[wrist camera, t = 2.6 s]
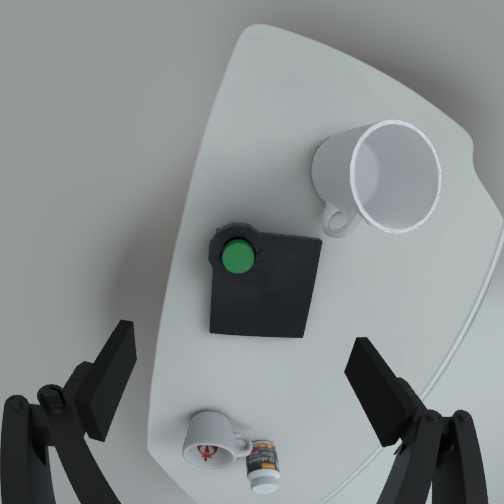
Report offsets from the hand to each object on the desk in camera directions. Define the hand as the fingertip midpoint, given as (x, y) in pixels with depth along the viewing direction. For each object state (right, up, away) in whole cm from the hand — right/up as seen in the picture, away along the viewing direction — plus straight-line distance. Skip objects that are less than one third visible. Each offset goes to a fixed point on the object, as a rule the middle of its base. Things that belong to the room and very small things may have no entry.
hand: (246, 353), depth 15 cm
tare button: (-1, +6, +15) cm, 16 cm away
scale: (+2, +2, +19) cm, 19 cm away
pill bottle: (+2, -31, +29) cm, 42 cm away
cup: (-5, -22, +26) cm, 34 cm away
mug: (+11, +14, +16) cm, 24 cm away
